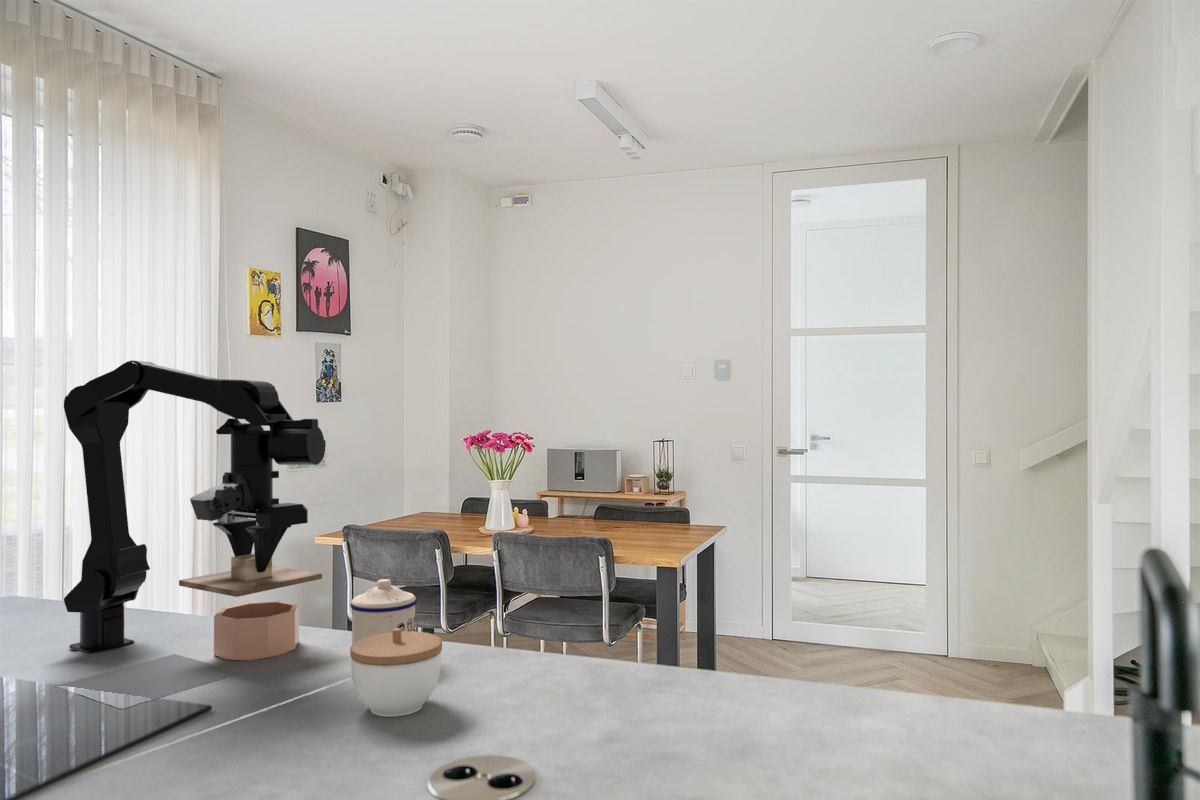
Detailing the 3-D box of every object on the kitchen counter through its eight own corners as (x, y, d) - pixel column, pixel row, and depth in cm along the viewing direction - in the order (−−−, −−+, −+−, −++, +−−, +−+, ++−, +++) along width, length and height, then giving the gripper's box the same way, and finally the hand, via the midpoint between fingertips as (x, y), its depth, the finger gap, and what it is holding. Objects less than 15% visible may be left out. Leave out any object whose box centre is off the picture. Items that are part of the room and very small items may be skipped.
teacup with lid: (400, 674, 109) (399, 588, 109) (338, 670, 111) (338, 585, 111) (434, 649, 121) (434, 571, 121) (378, 645, 123) (378, 569, 123)
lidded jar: (419, 728, 91) (419, 644, 91) (332, 721, 93) (332, 639, 93) (455, 695, 101) (455, 620, 101) (376, 689, 103) (376, 616, 104)
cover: (178, 585, 118) (179, 559, 118) (264, 569, 129) (264, 545, 129) (236, 596, 110) (236, 568, 110) (321, 578, 122) (321, 553, 122)
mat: (53, 688, 104) (53, 685, 104) (174, 656, 118) (174, 654, 118) (121, 711, 96) (121, 709, 96) (242, 674, 110) (242, 672, 110)
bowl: (200, 654, 119) (200, 613, 119) (266, 636, 128) (266, 598, 128) (247, 666, 113) (247, 623, 113) (312, 646, 122) (312, 607, 122)
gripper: (163, 466, 118) (163, 573, 118) (239, 470, 108) (240, 587, 108) (233, 462, 128) (233, 561, 127) (310, 465, 118) (310, 573, 117)
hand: (251, 570), depth 120 cm, fingers closed on cover, 4 cm apart
